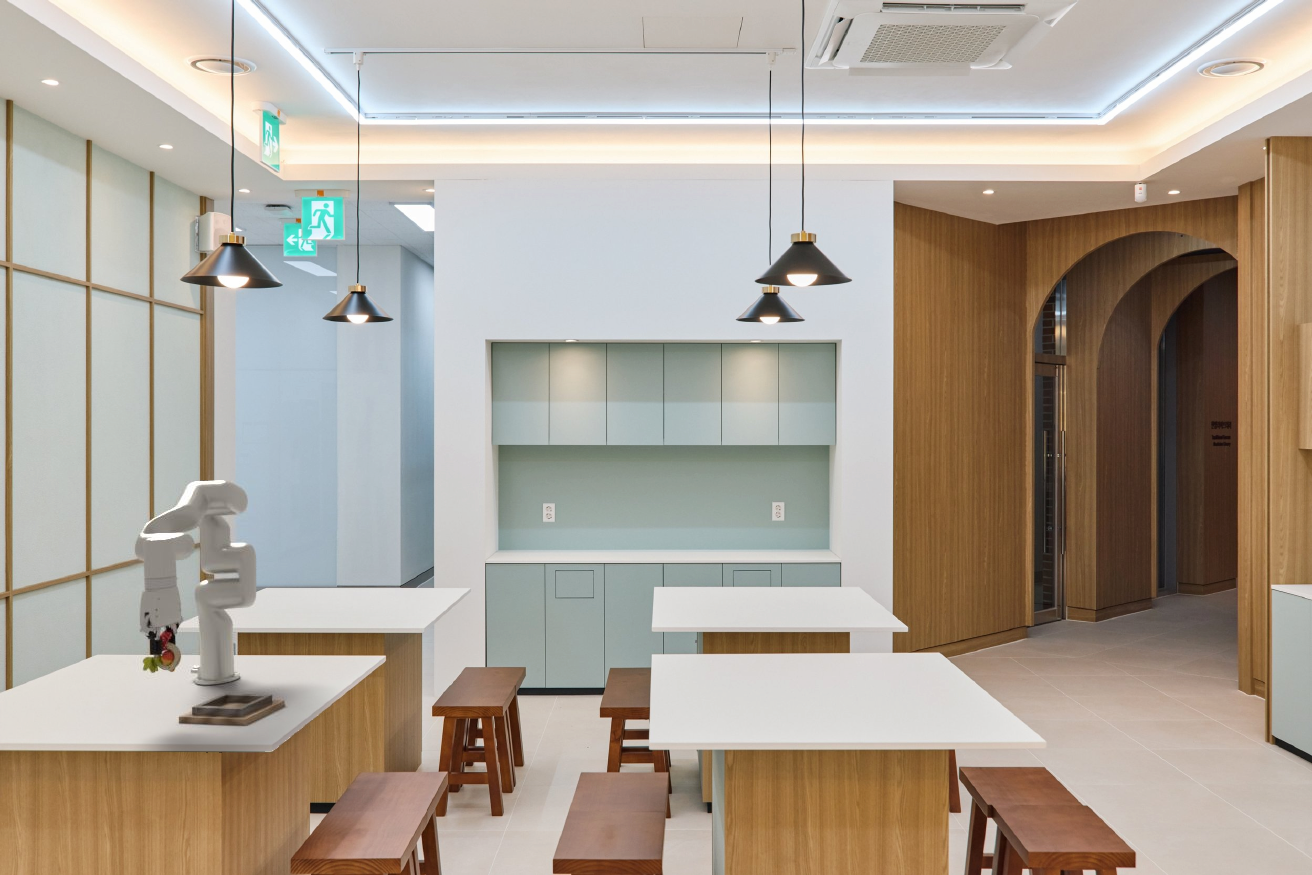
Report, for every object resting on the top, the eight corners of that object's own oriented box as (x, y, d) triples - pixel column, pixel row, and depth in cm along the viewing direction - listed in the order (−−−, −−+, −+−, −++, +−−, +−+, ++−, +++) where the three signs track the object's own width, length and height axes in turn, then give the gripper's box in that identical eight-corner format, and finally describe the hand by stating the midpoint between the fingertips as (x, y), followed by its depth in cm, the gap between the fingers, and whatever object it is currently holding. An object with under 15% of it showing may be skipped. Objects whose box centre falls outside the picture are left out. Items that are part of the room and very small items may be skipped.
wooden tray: (178, 722, 240) (178, 709, 240) (222, 703, 256) (221, 690, 256) (245, 724, 235) (244, 711, 235) (284, 705, 252) (284, 692, 252)
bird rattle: (177, 678, 242) (147, 664, 243) (196, 639, 244) (166, 626, 244) (164, 681, 236) (133, 667, 237) (184, 641, 238) (153, 627, 238)
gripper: (172, 578, 249) (174, 644, 249) (123, 589, 232) (126, 659, 232) (195, 578, 247) (198, 644, 247) (148, 589, 230) (150, 660, 231)
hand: (163, 651), depth 240 cm, fingers closed on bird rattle, 4 cm apart
